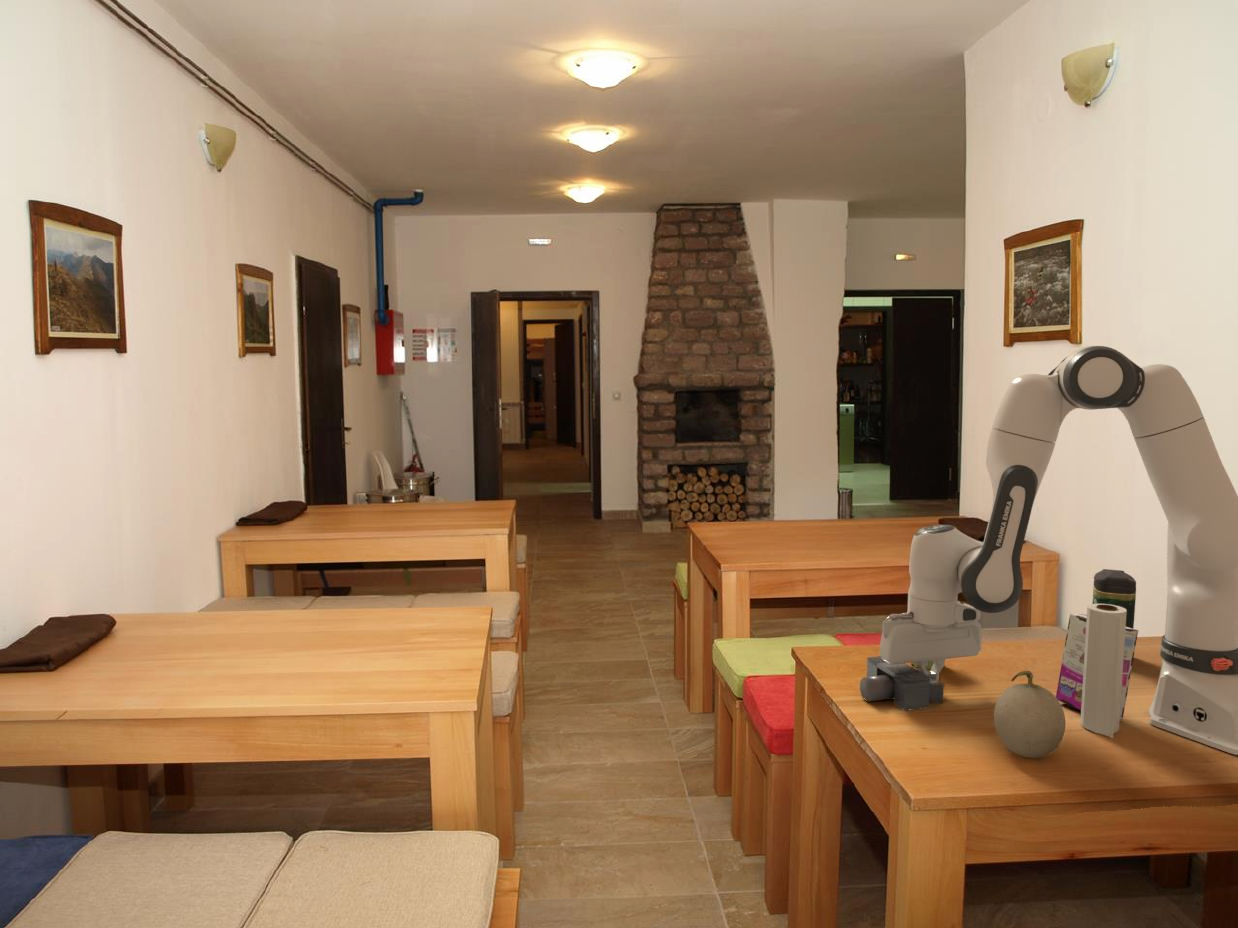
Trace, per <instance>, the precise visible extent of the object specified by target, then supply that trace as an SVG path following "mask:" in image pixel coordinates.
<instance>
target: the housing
mask: <svg viewBox="0 0 1238 928" xmlns="http://www.w3.org/2000/svg"><path fill="white" fill-rule="evenodd" d="M881 675H890V676H892V678H893V679H894V681H895V685H894V698H893V705H895V706H896V705H897V706H896V707H898V708H900V709H901V708H902V709H901V710H903V709H904V710H906V711H910V710H909V709H914V710H919V709H920V708H922V709H929V707H930V706H929V705H930V704H929V703H933V704H944V688H945V687H944V684H945V683H944V682H930V677H929V676H927V675H925V674H924V673H922V672H920V671H919V669H916V668H915V666H913V665H909V664H908V663H902V664H889V663H887V662H886V661H884V660H883V659H882V658H881V657H880V655H878V656H877V655H876V656H869V657H868V656H867V661H866V677H872V676H881ZM904 710H903V711H904Z"/></svg>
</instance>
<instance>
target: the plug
mask: <svg viewBox="0 0 1238 928" xmlns="http://www.w3.org/2000/svg"><path fill="white" fill-rule="evenodd" d="M894 685H895V681H894V679H893V678H892V676H890V675H881V676H872V677H867V676H865V677H864V676H863V677H862V678H860V682H859V691H860V694H861V697H862V699H863V698H865V699H866V700H867V701H869V702H876V701H877V702H878V701H884V700H892V699H893V700H894ZM867 701H866V702H867Z"/></svg>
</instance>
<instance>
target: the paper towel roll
mask: <svg viewBox="0 0 1238 928" xmlns="http://www.w3.org/2000/svg"><path fill="white" fill-rule="evenodd" d="M1126 613H1127V610H1126V609H1125V608H1123V607H1120V606H1116V605H1110V604H1092V603H1090V604H1088V605H1087V608H1086V615H1087V621H1086V638H1085V655H1084V671H1083V688H1082V705H1081V710H1080V725H1081V726H1082V727H1083V728H1085V729H1086V730H1089V731H1091V732H1092V733H1095V734H1099V735H1103V736H1106V737H1108V738H1111V739H1114V733H1117V732H1119V731H1120V721H1121V720H1120V705H1121V690H1122V674H1123V659H1124V644H1125V628H1126Z"/></svg>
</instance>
